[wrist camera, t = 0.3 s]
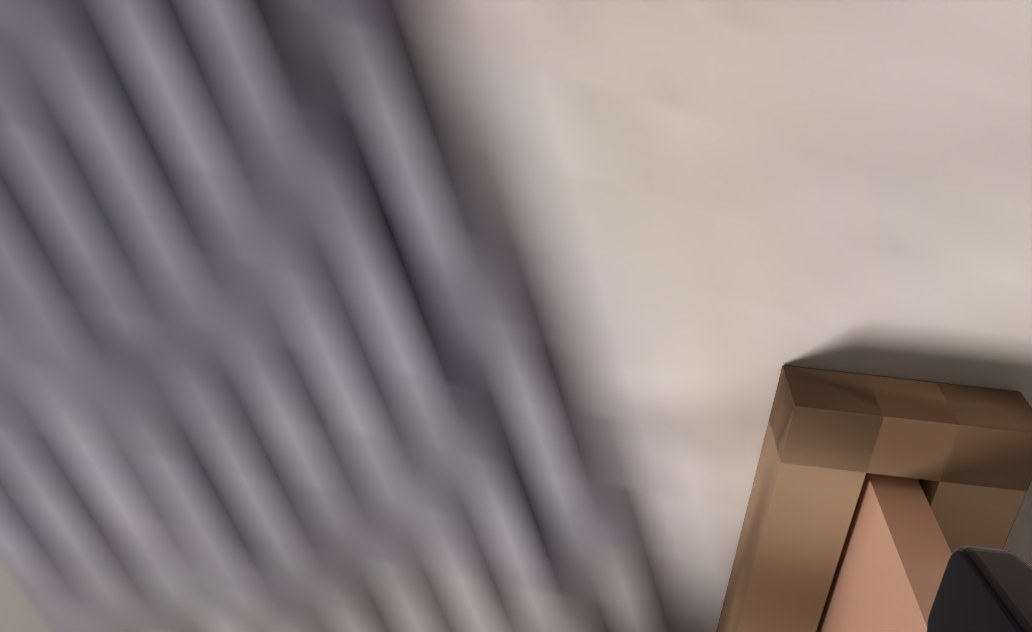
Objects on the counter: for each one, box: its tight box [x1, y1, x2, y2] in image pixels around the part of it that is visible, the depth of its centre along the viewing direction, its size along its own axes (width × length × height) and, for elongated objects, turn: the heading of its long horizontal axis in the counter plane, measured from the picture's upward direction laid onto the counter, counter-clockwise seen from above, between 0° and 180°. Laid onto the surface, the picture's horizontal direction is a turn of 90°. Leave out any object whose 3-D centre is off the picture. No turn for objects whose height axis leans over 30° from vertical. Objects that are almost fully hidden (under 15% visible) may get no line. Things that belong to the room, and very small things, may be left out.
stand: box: [717, 366, 1032, 632], centre depth 25 cm, size 12×6×2 cm, turn 176°
